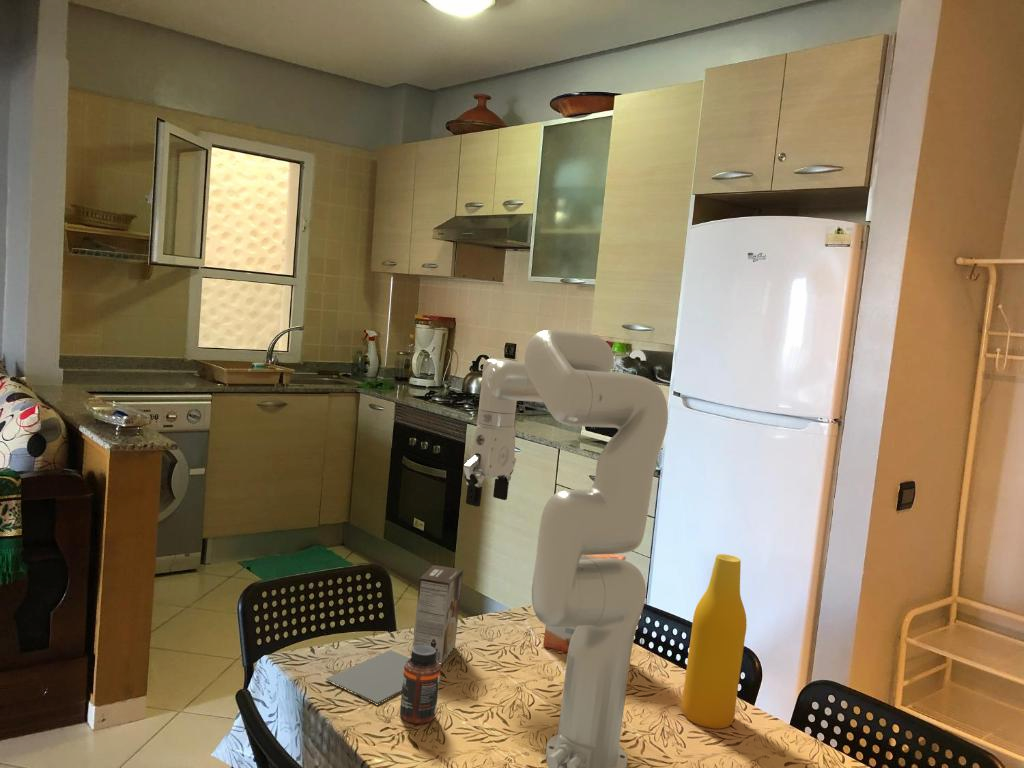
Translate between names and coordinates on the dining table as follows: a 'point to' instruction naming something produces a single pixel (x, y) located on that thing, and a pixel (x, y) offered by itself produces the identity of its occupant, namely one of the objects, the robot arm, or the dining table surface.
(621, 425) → the robot arm
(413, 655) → the supplement bottle
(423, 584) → the coffee box
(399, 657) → the mat
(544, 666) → the dining table surface
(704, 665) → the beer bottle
